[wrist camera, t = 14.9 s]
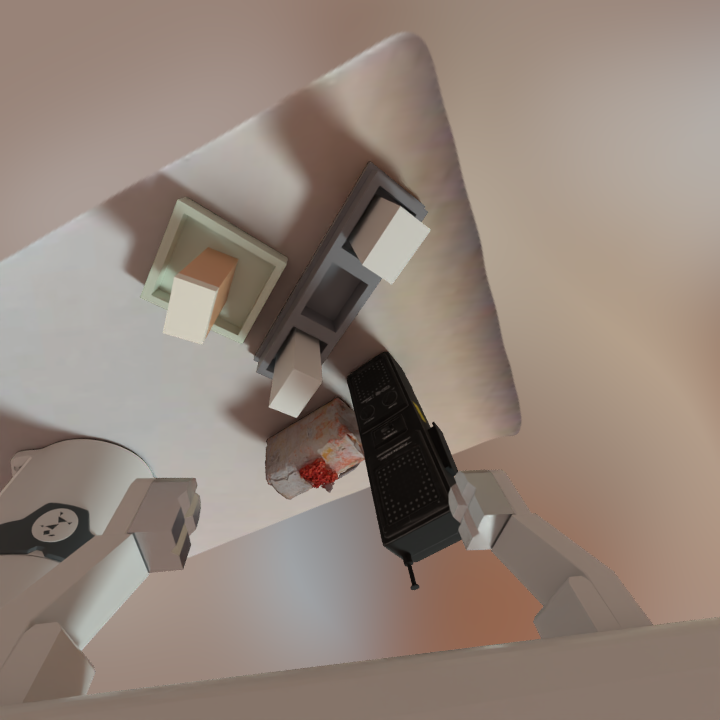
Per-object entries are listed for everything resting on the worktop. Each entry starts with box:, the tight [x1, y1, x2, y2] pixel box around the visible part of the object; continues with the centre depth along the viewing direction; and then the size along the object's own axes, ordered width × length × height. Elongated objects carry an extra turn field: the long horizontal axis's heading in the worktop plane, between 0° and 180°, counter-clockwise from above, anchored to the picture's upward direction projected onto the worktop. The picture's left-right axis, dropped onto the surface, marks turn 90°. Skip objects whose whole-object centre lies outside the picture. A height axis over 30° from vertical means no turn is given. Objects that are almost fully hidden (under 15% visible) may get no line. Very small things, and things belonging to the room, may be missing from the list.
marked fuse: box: [163, 247, 238, 344], centre depth 30 cm, size 5×3×10 cm, turn 155°
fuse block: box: [254, 162, 431, 418], centre depth 33 cm, size 25×7×11 cm, turn 146°
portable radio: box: [347, 352, 462, 590], centre depth 34 cm, size 8×6×25 cm
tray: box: [140, 197, 288, 344], centre depth 34 cm, size 11×11×2 cm
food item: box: [265, 398, 365, 500], centre depth 44 cm, size 14×8×10 cm, turn 122°
